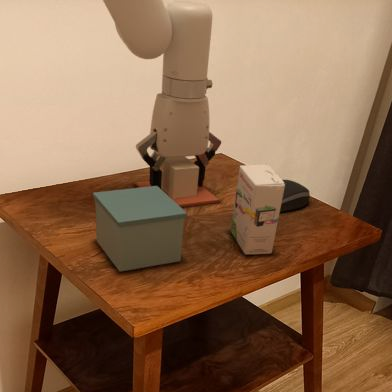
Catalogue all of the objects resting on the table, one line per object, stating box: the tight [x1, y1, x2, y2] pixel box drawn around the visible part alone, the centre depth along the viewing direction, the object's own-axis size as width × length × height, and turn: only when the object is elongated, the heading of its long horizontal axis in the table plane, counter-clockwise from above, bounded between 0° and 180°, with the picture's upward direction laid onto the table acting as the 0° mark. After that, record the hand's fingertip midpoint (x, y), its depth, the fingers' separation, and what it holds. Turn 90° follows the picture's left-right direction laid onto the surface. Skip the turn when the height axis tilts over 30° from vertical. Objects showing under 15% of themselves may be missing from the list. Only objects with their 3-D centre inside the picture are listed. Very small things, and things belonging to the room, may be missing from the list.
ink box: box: [229, 163, 285, 255], centre depth 86 cm, size 8×5×12 cm, turn 14°
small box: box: [160, 156, 199, 199], centre depth 101 cm, size 5×6×6 cm
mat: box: [135, 180, 220, 208], centre depth 103 cm, size 12×12×1 cm
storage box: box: [92, 186, 188, 273], centre depth 81 cm, size 11×11×8 cm
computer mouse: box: [280, 179, 311, 213], centre depth 103 cm, size 7×12×4 cm, turn 129°
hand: (176, 186), depth 102 cm, fingers open, 8 cm apart
